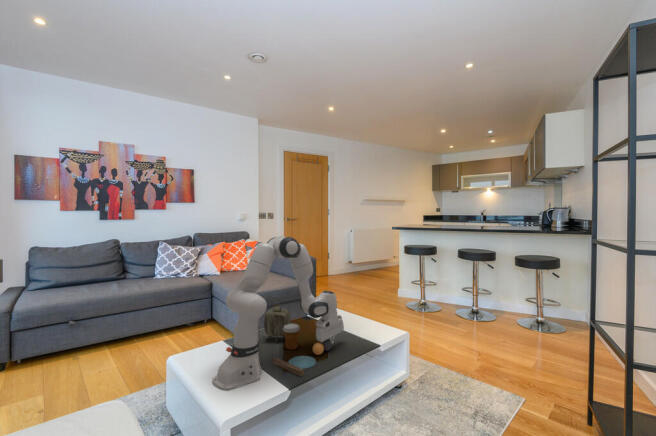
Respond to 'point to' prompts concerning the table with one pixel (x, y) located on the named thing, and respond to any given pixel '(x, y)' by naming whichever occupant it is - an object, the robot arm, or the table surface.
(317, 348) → the orange ball
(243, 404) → the table surface
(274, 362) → the stopper wall
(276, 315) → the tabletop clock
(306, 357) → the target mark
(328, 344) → the dark gray ball
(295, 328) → the disposable coffee cup
